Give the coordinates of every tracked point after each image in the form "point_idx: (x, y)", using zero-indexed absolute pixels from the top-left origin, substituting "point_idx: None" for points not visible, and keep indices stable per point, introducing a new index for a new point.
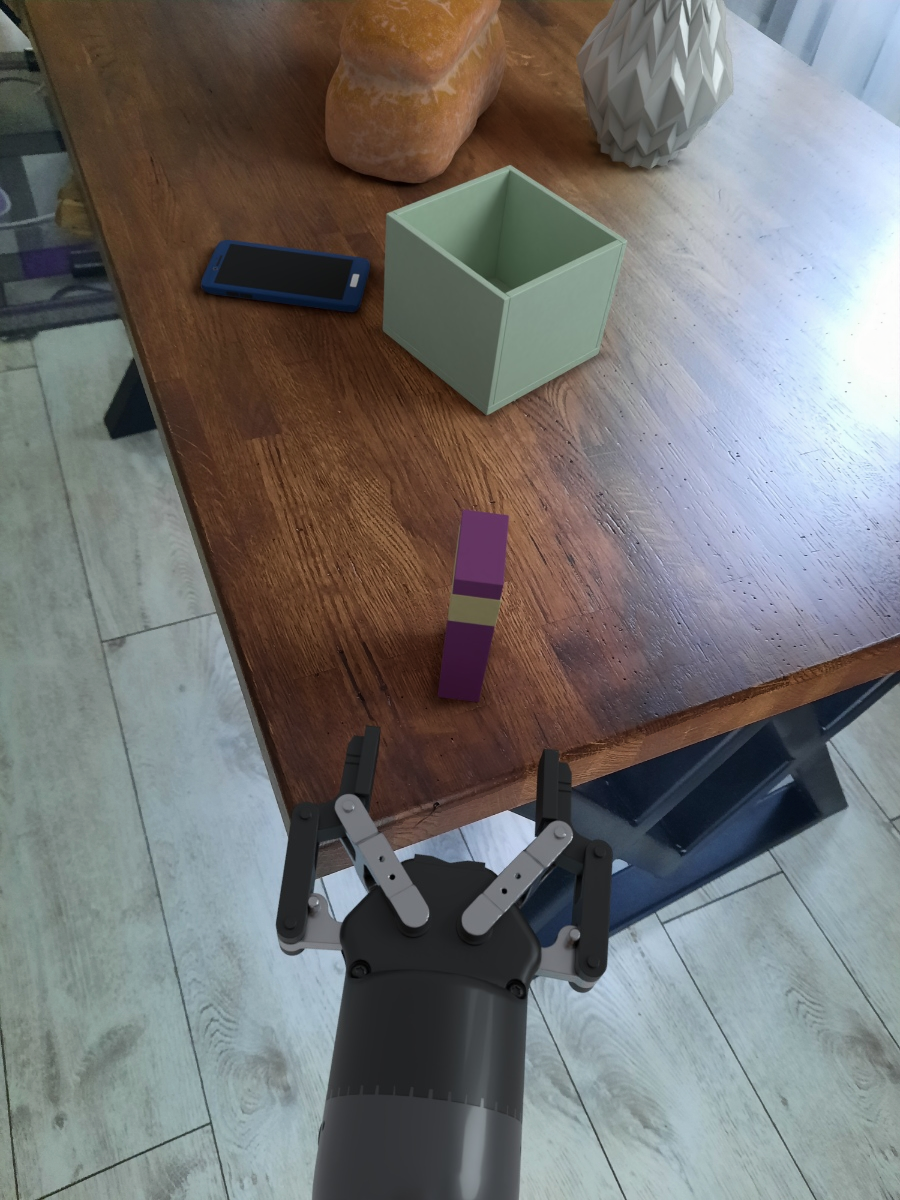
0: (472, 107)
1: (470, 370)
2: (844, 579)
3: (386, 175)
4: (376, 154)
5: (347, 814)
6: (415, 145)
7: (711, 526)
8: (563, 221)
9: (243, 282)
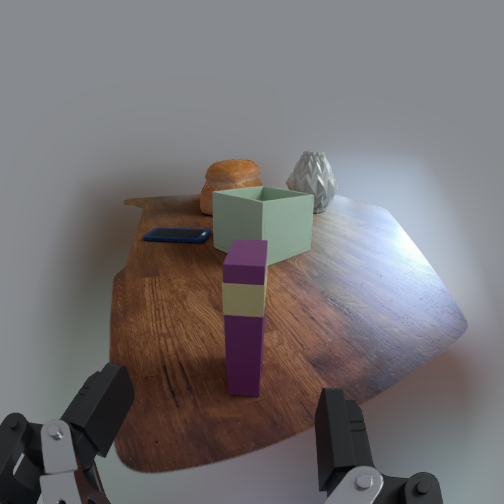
0: None
1: None
2: (444, 311)
3: None
4: None
5: (50, 439)
6: None
7: (380, 299)
8: (287, 196)
9: (159, 235)
